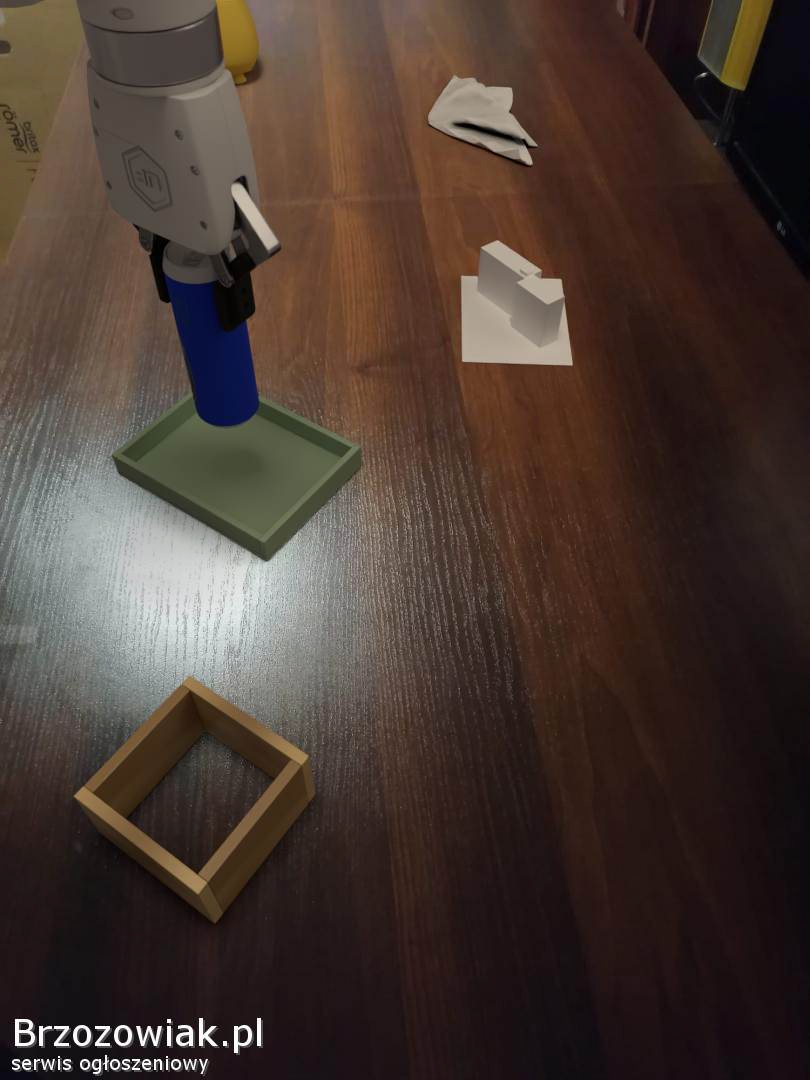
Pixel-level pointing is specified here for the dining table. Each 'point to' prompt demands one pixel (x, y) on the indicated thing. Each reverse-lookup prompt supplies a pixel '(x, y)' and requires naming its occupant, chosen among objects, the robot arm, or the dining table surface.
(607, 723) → the dining table surface
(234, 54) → the teapot
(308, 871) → the dining table surface
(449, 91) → the cloth
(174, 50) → the robot arm
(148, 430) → the tray
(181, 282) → the beverage can
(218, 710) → the square frame
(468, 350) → the napkin holder
